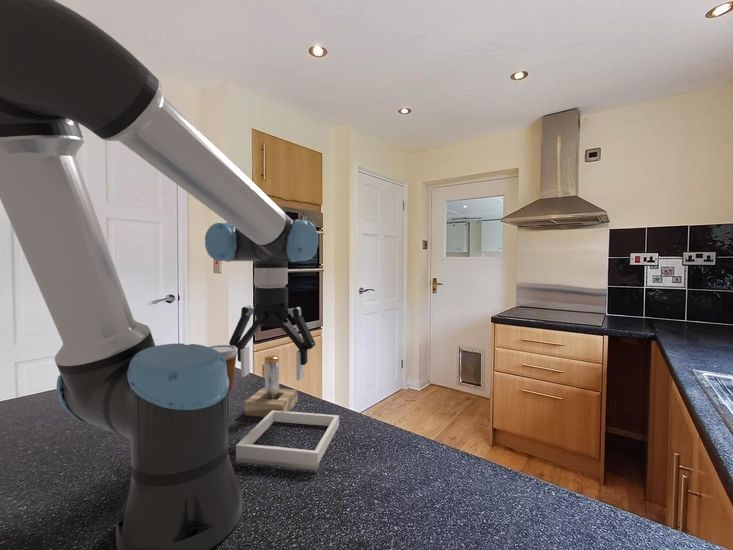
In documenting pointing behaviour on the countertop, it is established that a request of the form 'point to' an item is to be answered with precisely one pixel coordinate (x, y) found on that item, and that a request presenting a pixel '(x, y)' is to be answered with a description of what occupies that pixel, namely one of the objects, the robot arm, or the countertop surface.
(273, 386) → the pin
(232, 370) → the disposable coffee cup
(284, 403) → the socket block
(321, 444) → the rectangular frame
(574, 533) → the countertop surface
